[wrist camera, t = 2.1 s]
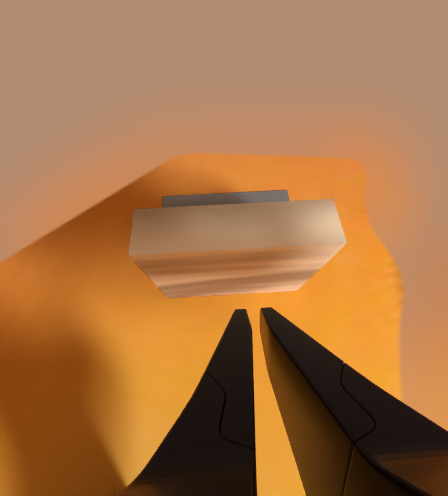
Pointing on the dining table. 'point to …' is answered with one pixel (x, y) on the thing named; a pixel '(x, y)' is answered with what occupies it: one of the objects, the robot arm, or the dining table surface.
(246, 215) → the beige streaked flat block
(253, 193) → the charcoal rubber mat
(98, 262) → the dining table surface
